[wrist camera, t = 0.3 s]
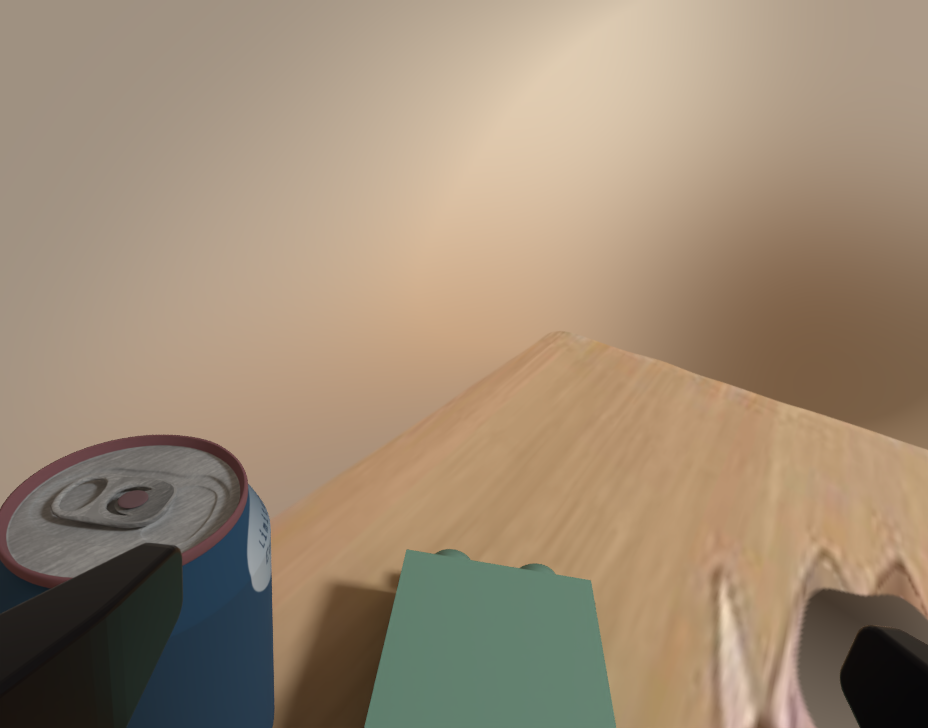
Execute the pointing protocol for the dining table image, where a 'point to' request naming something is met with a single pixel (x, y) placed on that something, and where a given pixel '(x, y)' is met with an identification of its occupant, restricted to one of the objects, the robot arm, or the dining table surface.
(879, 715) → the robot arm
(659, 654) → the dining table surface
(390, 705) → the base brick
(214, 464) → the soda can
